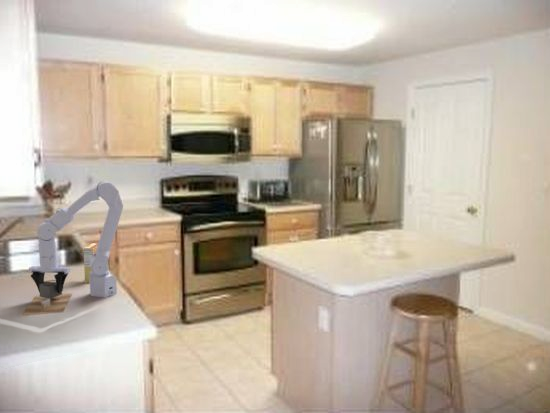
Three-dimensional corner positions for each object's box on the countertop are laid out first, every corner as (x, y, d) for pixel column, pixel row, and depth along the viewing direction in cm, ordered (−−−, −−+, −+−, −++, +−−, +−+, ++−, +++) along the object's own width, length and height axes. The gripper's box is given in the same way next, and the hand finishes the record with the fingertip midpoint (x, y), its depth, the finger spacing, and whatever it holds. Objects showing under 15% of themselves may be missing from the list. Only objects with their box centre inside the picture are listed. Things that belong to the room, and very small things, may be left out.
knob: (62, 294, 173) (61, 280, 173) (50, 298, 169) (48, 284, 168) (52, 292, 176) (51, 278, 175) (39, 296, 171) (38, 282, 170)
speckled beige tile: (50, 306, 165) (49, 298, 164) (43, 309, 162) (43, 300, 162) (48, 306, 165) (47, 298, 165) (41, 308, 162) (40, 300, 162)
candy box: (93, 277, 204) (91, 243, 202) (102, 277, 204) (101, 243, 202) (84, 283, 195) (82, 247, 193) (94, 283, 195) (92, 247, 193)
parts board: (35, 298, 176) (35, 295, 176) (72, 295, 180) (72, 292, 180) (21, 318, 156) (20, 315, 156) (63, 315, 160) (63, 312, 159)
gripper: (73, 253, 173) (75, 288, 175) (35, 252, 175) (38, 287, 177) (62, 258, 166) (65, 295, 168) (24, 257, 168) (27, 293, 170)
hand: (50, 291), depth 172 cm, fingers closed on knob, 7 cm apart
